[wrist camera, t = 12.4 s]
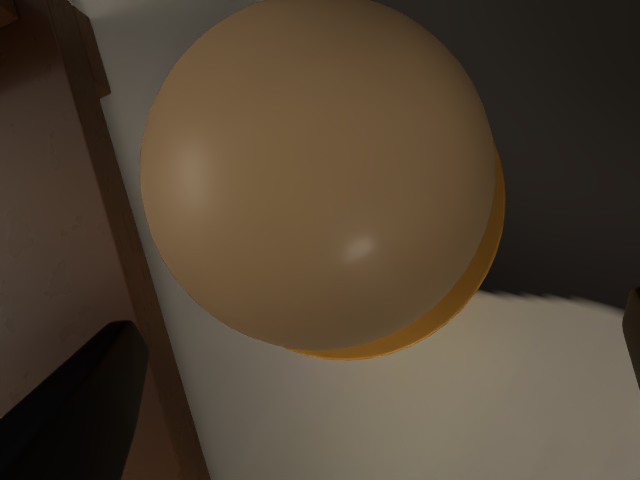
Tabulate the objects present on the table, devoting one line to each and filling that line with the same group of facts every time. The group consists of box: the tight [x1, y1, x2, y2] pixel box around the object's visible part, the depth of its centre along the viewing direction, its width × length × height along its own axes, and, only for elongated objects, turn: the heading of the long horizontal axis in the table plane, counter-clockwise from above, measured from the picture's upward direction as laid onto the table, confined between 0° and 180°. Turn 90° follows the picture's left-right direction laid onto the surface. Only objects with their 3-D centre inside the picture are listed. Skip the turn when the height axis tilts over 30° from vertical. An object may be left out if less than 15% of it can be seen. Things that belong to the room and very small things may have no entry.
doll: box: [140, 0, 505, 360], centre depth 10 cm, size 5×5×12 cm
